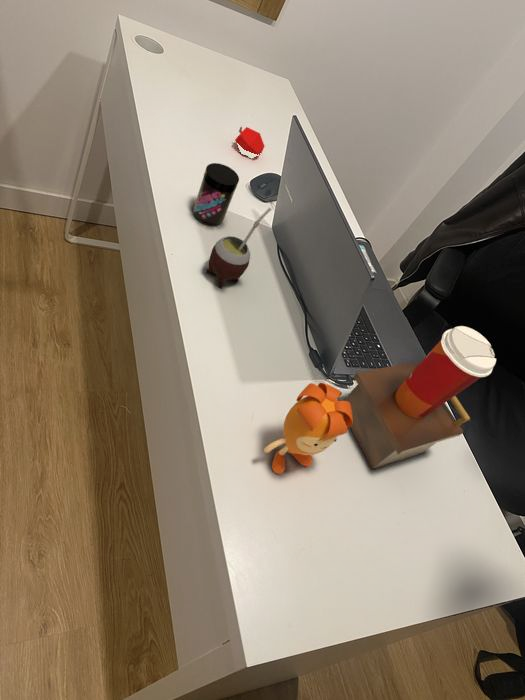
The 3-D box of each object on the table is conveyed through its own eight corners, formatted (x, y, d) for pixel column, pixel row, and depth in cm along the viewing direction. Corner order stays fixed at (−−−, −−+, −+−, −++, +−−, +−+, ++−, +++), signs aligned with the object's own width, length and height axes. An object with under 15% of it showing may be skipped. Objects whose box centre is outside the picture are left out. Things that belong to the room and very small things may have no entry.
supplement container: (187, 205, 103) (200, 162, 95) (216, 205, 107) (231, 163, 99) (199, 227, 100) (213, 184, 93) (228, 226, 104) (244, 185, 96)
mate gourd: (201, 283, 91) (226, 219, 80) (207, 256, 96) (231, 193, 85) (239, 296, 92) (269, 235, 81) (243, 268, 97) (271, 207, 86)
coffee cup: (427, 386, 82) (489, 331, 71) (438, 429, 77) (507, 377, 66) (384, 375, 80) (441, 316, 69) (392, 419, 75) (455, 363, 64)
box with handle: (430, 456, 85) (476, 423, 77) (370, 476, 78) (413, 442, 70) (389, 388, 92) (427, 351, 83) (330, 401, 85) (366, 361, 76)
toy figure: (261, 485, 70) (306, 437, 59) (243, 436, 74) (281, 382, 63) (328, 468, 76) (379, 421, 65) (307, 423, 80) (352, 372, 69)
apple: (275, 139, 123) (252, 113, 121) (263, 153, 120) (240, 127, 117) (259, 154, 129) (237, 130, 126) (248, 168, 125) (225, 144, 122)
